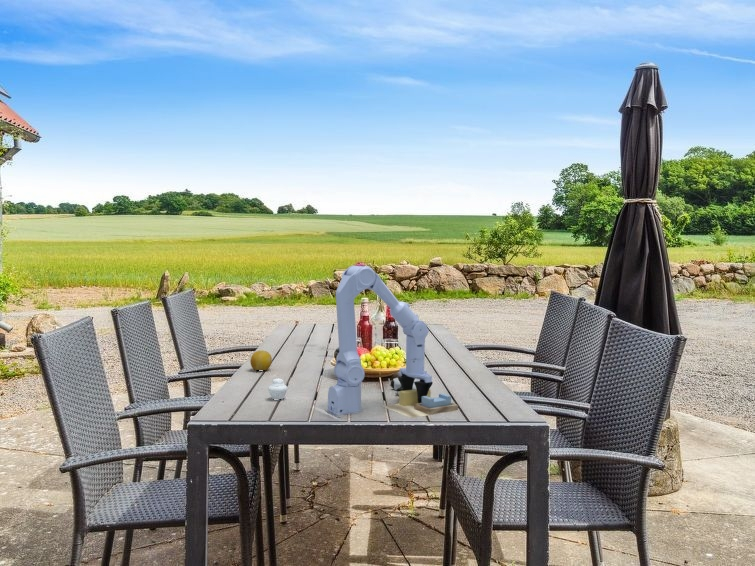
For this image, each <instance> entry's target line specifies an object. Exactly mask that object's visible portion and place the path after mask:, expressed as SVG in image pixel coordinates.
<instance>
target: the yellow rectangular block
mask: <svg viewBox="0 0 755 566" xmlns="http://www.w3.org/2000/svg"><path fill="white" fill-rule="evenodd" d="M431 391H432V390H431V388H430V389H429V391H428V394H427V397H430V398H431ZM398 404H400V405H402V406H409V405H414V404H418V397H417V389H413V390H405V391H399V395H398Z"/></svg>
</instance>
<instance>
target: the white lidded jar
mask: <svg viewBox="0 0 755 566" xmlns="http://www.w3.org/2000/svg"><path fill="white" fill-rule="evenodd" d="M287 392H288V386H287V385H286V384H285V383H284V380H283V379H282V378H279V377H277V378H273V380H272V381H271V384H270V385H269V386H268V393H269V395H270V397H271V399H272V400H273V399H278V400H277V401H280V400H279V399H282V400H284V398H285V396H286V394H287Z"/></svg>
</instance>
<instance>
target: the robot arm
mask: <svg viewBox="0 0 755 566" xmlns="http://www.w3.org/2000/svg"><path fill="white" fill-rule="evenodd" d="M339 281H340V282H339V284H338V286H337V288H336V290H335V303H336V305H335V306H336V319H337V320H336V321H337V322H336V323H337V335H338V353H337V355H336V361H335V362H336V363H335V365H334V368H333V370H334V371H333V373H334V375H335V377H336V378H337V381H336V384H335V385H332V386H330V387H329V388H328V391H327V392H328V393H327V411H326V413H327V414H329V415H331V416H333V417H336V418H338V419H342V417H341V415H347V414H348V415H349V414H357V413H360V412H361V411H362V382H363V381H364V379H365V373H366V372H365V368H364V367H363V365H362V359H361V357H360V355H359V353H358V343H357V341H358V340H357V328H356V327H357V326H356V313H355V299H356V298H357V297H358V295H360V293H361V292H363V291H365V290H366V289H367V290H370V291H373V292H374V293H375V294H376V296H377V297H379V298H380V299H381V301H383V302H384V304H386V306H387V307H388V308H389V314H390V316H391V317H392V318H393V319H394V320H395V321H396V323H398V324H399V326H400V327H401V328H402V332H403V334H404V335H406V338H405V339H406V346H405V367H402V368H399V369H398V371H399V375H400V376H398V377H397V378H398V380H399V382H400V384H401V386H402V389H403V391H405V390H412V388H413V383H415V386H416V389H417V397H418V403H422V396H427V394H428V391H429V389H430V390H431V387H432V385H433V379H432V378H433V377H432V375H430V374H428V372H427V370H425V355H426V354H425V353H426V352H425V347H426V345H425V344H426V337H427V336H428V335H429V332H430V330H429V328H428V326H427V324H426V323H425V322H424V321H423V320H419V318H420V316H419V315H418V314H415V312H414V311H413V310H412V309H411V308H410V307H411V305H410V304H409V303H408V302H405V301H399V300H398V298H397V297H396V296H395V295H394V294H393V293H392V291H391V290H390V288H388V286H387V285H386V284H385V283H384V281H383V279H382V278H381V277H380V275H379V274H378V273H376V272H375V271H374V269H373V268H371V267H370V266H368V265H367V266H365V265H364V266H363V265H361V266H360V265H350V266H349V267H347V269H345V270H344V271H343V272H342V273H341V279H340V280H339ZM415 379H419V380H420V381H416V382H414V380H415ZM339 415H340V416H339Z"/></svg>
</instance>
